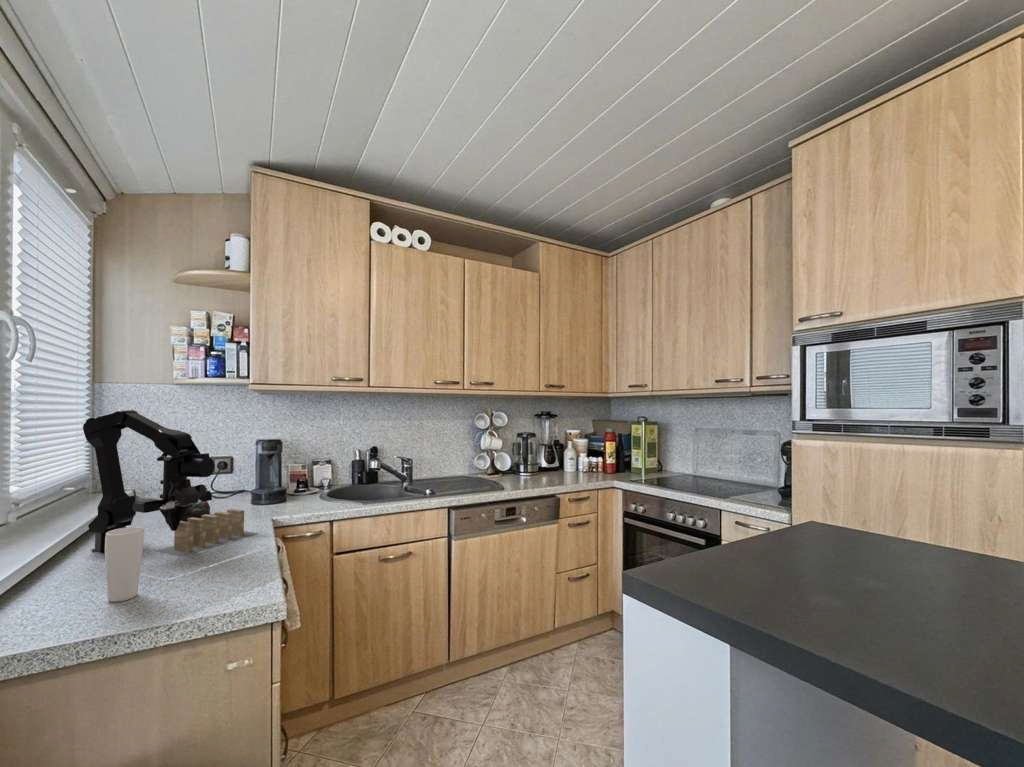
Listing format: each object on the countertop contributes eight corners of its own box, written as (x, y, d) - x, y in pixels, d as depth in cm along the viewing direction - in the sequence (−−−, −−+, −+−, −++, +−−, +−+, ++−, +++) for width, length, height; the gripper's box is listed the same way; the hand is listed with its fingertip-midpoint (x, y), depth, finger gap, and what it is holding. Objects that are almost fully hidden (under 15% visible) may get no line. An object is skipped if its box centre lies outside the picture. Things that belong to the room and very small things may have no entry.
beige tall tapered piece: (109, 607, 101) (112, 536, 101) (97, 599, 105) (100, 531, 105) (147, 596, 107) (149, 529, 107) (134, 589, 110) (136, 525, 111)
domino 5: (239, 536, 152) (239, 511, 152) (226, 534, 154) (227, 509, 154) (243, 535, 153) (244, 510, 153) (231, 532, 156) (231, 508, 156)
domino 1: (187, 552, 136) (187, 524, 136) (174, 549, 138) (174, 522, 139) (192, 550, 137) (193, 522, 138) (179, 547, 140) (180, 520, 140)
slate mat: (180, 557, 132) (180, 556, 132) (154, 552, 137) (154, 550, 137) (259, 534, 155) (259, 533, 155) (234, 530, 160) (234, 529, 160)
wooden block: (226, 539, 148) (227, 514, 148) (214, 537, 150) (214, 512, 151) (231, 538, 149) (232, 513, 150) (218, 536, 152) (219, 511, 152)
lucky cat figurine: (156, 525, 165) (154, 488, 170) (175, 530, 176) (173, 495, 181) (202, 511, 168) (198, 475, 173) (218, 517, 179) (214, 482, 184)
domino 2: (199, 547, 140) (200, 520, 140) (186, 545, 143) (187, 518, 143) (205, 546, 142) (205, 519, 142) (192, 543, 144) (193, 517, 144)
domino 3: (213, 543, 144) (214, 517, 144) (200, 541, 146) (201, 515, 147) (218, 542, 145) (219, 516, 146) (205, 539, 148) (206, 514, 148)
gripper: (156, 483, 125) (155, 543, 125) (224, 473, 142) (223, 525, 142) (132, 480, 130) (130, 537, 129) (201, 471, 147) (199, 521, 146)
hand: (173, 530), depth 136 cm, fingers closed
